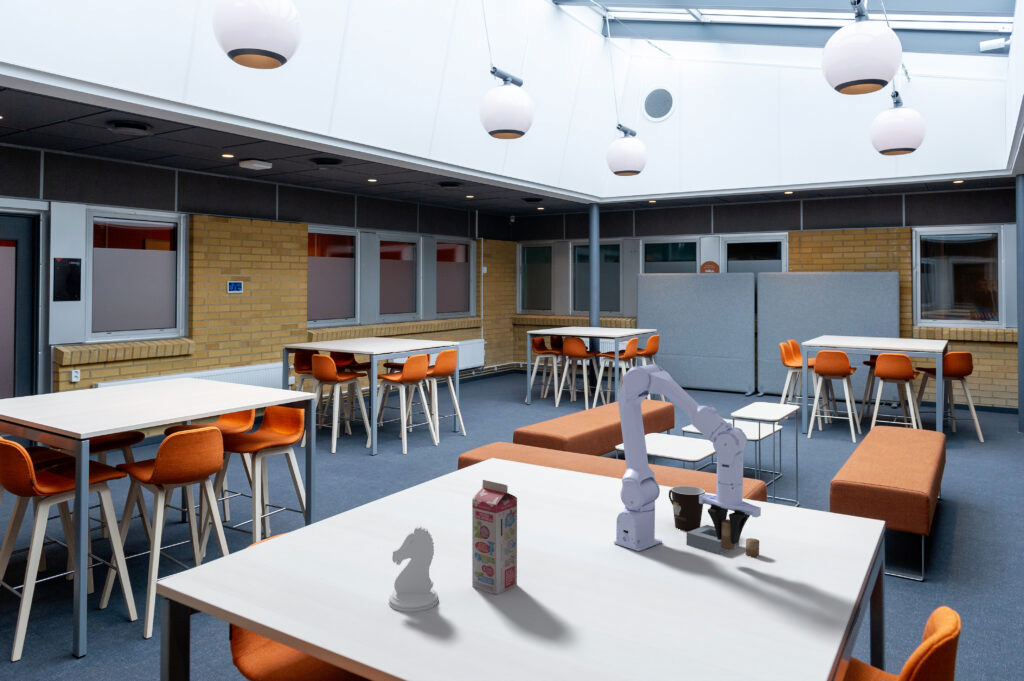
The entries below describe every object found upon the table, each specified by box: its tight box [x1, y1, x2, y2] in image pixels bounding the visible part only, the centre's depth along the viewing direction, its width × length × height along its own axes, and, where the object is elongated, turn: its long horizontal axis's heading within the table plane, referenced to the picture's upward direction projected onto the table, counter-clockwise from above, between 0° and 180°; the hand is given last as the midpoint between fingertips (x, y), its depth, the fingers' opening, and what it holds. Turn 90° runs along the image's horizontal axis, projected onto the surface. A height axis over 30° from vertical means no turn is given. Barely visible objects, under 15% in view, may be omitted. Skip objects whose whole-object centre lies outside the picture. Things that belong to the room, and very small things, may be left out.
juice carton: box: [471, 479, 518, 596], centre depth 149 cm, size 7×7×22 cm
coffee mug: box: [668, 485, 706, 532], centre depth 189 cm, size 12×9×10 cm
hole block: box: [685, 524, 740, 555], centre depth 174 cm, size 9×9×3 cm
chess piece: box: [388, 525, 439, 613], centre depth 141 cm, size 10×10×15 cm
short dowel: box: [745, 537, 760, 558], centre depth 168 cm, size 3×3×4 cm
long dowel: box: [721, 518, 736, 551], centre depth 162 cm, size 3×3×6 cm
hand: (728, 540), depth 162 cm, fingers closed on long dowel, 3 cm apart
